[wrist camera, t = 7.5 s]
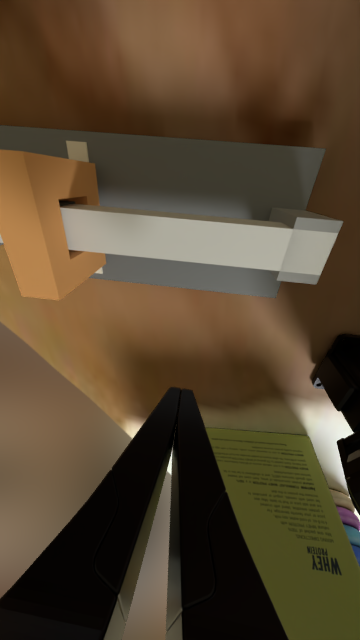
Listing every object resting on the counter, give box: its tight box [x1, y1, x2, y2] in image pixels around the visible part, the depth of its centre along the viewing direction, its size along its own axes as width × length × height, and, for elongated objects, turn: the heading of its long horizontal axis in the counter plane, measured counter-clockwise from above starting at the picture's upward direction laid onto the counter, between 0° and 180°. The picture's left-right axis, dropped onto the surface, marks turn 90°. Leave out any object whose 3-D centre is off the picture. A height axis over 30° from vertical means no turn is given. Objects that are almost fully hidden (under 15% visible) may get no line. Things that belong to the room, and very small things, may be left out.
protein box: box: [206, 428, 360, 640], centre depth 24 cm, size 10×15×16 cm
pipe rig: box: [0, 125, 343, 298], centre depth 13 cm, size 20×9×6 cm, turn 86°
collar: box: [0, 150, 106, 301], centre depth 12 cm, size 2×6×6 cm, turn 176°
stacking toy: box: [329, 489, 360, 566], centre depth 28 cm, size 8×8×19 cm
